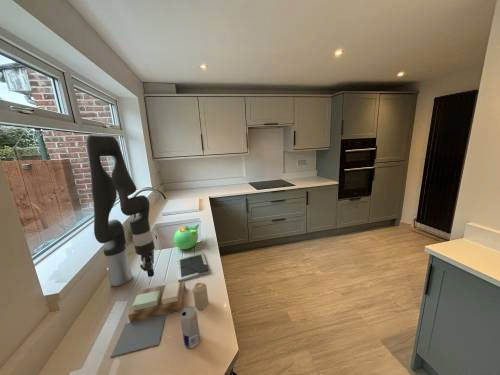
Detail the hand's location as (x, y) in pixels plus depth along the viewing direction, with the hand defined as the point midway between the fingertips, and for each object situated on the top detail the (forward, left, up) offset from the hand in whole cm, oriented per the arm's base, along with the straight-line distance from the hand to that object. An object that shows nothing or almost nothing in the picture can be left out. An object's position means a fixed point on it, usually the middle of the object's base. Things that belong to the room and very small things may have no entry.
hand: (151, 275), depth 90 cm
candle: (+22, -12, -11) cm, 27 cm away
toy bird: (+12, +44, -11) cm, 46 cm away
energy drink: (+19, -28, -11) cm, 36 cm away
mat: (0, -20, -10) cm, 23 cm away
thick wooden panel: (+4, -6, -10) cm, 13 cm away
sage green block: (0, -9, -6) cm, 11 cm away
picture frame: (+16, +18, -11) cm, 26 cm away
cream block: (+9, -7, -6) cm, 13 cm away
